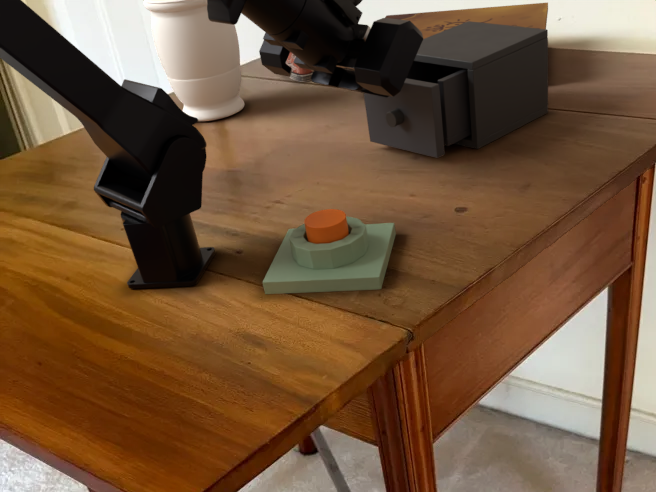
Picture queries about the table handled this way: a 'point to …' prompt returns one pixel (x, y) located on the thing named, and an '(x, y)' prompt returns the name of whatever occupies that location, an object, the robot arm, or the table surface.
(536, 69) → the grey drawer box
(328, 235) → the button
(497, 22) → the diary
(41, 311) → the table surface
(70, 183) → the table surface
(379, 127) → the dark grey drawer
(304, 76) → the lighter
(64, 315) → the table surface
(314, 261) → the panel
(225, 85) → the jar
